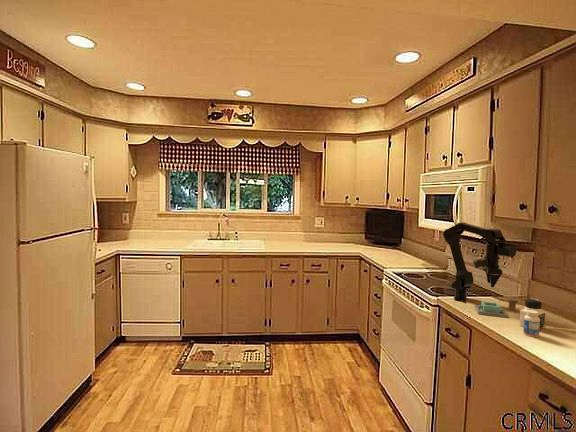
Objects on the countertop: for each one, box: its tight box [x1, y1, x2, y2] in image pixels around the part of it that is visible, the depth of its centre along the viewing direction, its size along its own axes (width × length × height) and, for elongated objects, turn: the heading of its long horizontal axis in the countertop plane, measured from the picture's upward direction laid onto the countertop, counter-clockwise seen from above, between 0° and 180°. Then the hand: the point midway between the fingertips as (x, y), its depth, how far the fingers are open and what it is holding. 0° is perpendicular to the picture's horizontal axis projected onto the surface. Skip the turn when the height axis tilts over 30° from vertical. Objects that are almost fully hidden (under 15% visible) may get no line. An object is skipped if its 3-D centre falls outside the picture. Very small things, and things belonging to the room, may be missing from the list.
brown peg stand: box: [500, 299, 522, 314], centre depth 184 cm, size 8×8×5 cm
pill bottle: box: [522, 310, 540, 338], centre depth 153 cm, size 6×5×10 cm
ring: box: [478, 301, 502, 314], centre depth 180 cm, size 9×7×4 cm
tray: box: [474, 304, 508, 319], centre depth 179 cm, size 12×12×2 cm
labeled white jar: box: [519, 298, 546, 331], centre depth 162 cm, size 7×7×12 cm
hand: (490, 285), depth 187 cm, fingers open, 9 cm apart
